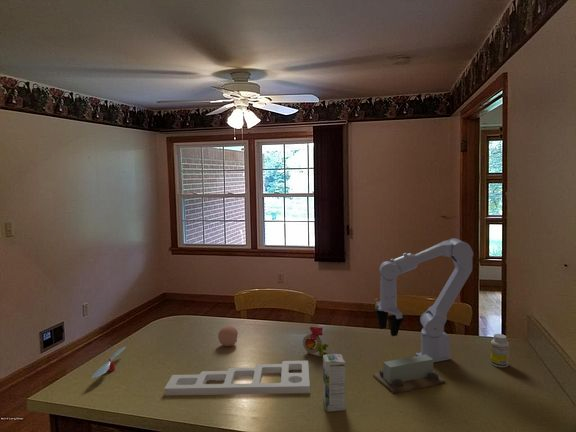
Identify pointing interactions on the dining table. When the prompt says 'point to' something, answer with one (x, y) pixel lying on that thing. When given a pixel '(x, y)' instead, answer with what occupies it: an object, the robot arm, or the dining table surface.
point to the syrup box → (333, 382)
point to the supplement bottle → (500, 351)
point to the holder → (287, 384)
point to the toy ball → (228, 336)
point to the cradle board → (409, 382)
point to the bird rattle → (311, 343)
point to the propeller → (107, 365)
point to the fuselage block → (407, 368)
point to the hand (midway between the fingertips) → (388, 331)
